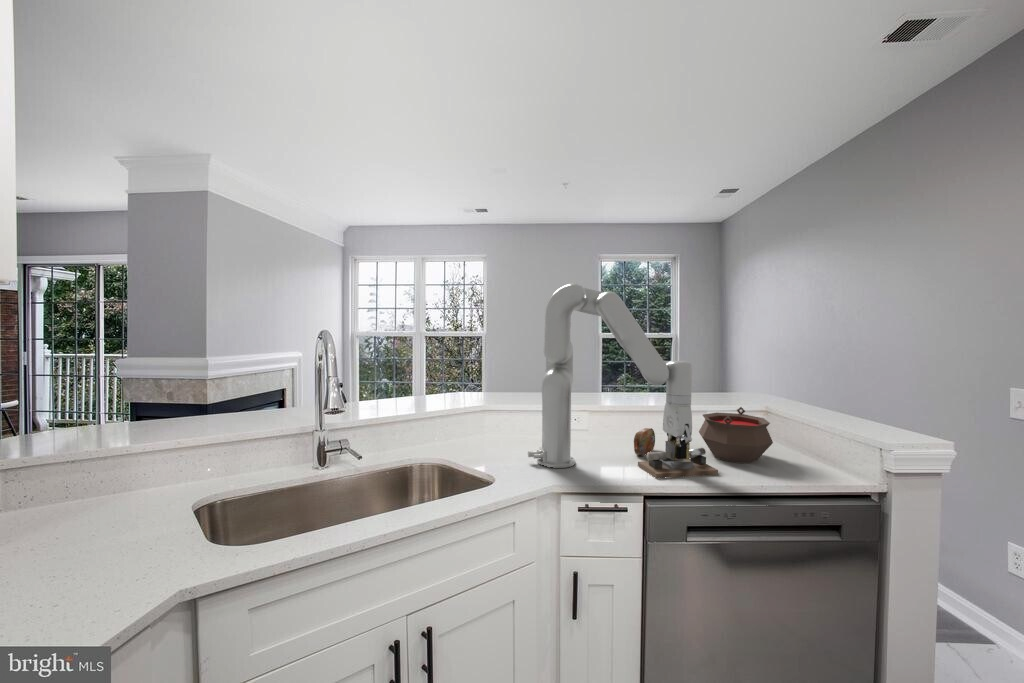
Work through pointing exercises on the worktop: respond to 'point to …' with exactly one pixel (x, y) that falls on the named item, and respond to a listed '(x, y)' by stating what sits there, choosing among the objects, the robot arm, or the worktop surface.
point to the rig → (673, 466)
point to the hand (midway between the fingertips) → (677, 455)
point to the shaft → (698, 456)
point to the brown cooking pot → (736, 436)
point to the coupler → (674, 450)
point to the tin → (644, 441)
